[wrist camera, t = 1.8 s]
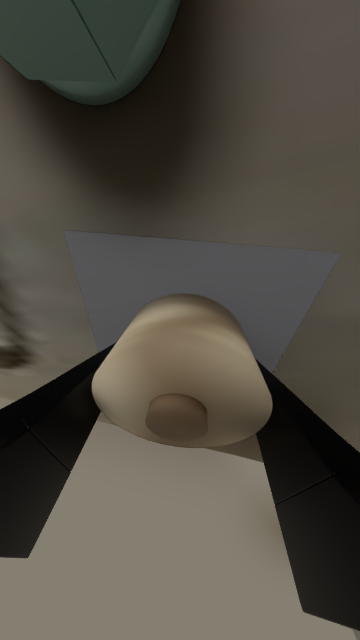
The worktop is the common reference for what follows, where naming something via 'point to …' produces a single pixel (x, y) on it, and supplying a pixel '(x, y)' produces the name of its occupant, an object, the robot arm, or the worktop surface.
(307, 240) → the worktop surface
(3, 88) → the worktop surface
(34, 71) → the bowl
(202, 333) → the lid
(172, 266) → the mat
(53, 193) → the worktop surface
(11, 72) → the worktop surface
